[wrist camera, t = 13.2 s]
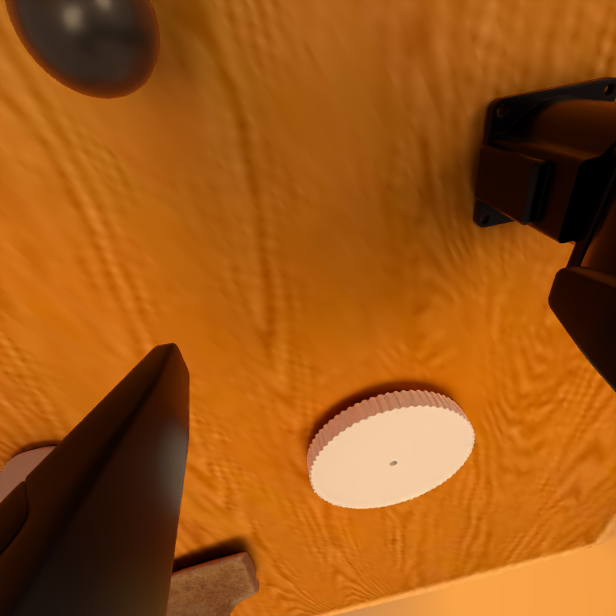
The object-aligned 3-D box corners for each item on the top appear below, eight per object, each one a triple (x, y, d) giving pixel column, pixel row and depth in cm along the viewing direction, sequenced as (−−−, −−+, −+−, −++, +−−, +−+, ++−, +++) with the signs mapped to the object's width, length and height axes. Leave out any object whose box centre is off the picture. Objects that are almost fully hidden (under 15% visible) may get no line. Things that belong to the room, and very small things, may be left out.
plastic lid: (282, 478, 33) (285, 506, 31) (344, 367, 26) (354, 393, 24) (409, 486, 37) (419, 510, 35) (490, 393, 31) (508, 417, 29)
